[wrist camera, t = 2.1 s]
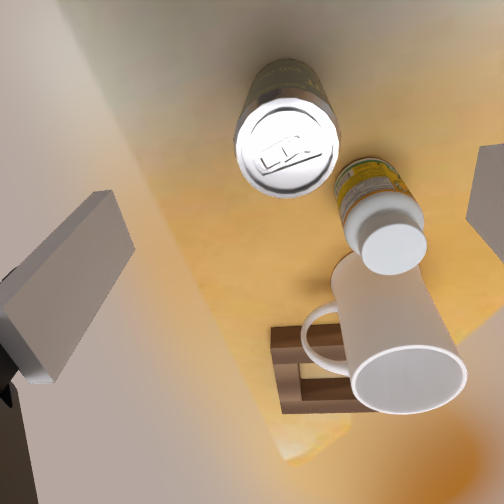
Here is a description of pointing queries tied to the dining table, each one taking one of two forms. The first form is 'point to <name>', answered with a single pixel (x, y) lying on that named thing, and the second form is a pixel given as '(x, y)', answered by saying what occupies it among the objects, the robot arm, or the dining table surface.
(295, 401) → the holder
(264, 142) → the beer can
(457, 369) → the mug
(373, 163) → the supplement bottle
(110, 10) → the dining table surface
